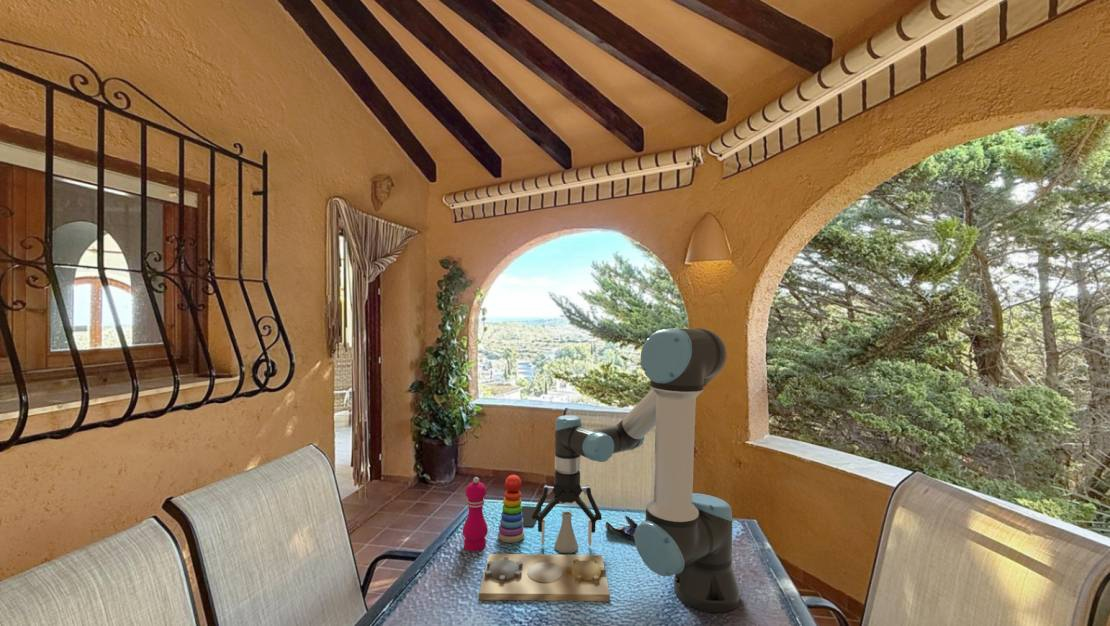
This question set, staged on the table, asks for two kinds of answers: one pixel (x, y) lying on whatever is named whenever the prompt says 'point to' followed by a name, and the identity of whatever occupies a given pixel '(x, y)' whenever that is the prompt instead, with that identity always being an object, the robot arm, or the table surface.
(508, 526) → the stacking toy
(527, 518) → the phone
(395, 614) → the table surface
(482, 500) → the pepper mill
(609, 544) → the table surface
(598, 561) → the gear board
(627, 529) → the snack package
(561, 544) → the flask
